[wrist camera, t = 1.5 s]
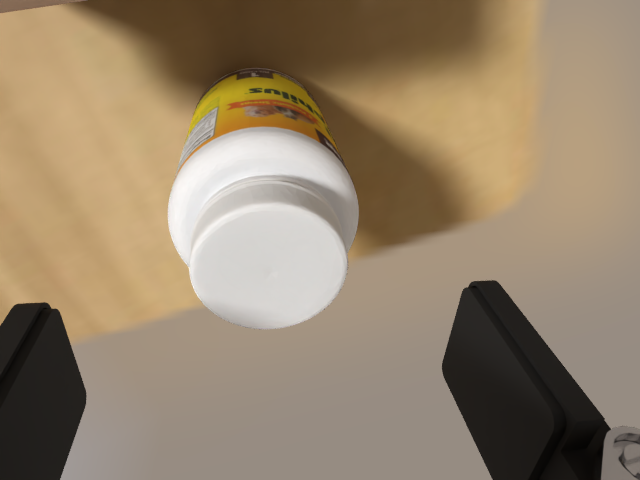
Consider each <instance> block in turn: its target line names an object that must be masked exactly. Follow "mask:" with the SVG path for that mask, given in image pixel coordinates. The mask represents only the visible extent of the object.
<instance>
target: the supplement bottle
mask: <svg viewBox="0 0 640 480" xmlns="http://www.w3.org/2000/svg"><path fill="white" fill-rule="evenodd" d="M358 220H359V206H358V199H357V194H356V191H355V188H354V184H353V181H352V179H351V177H350V175H349V172H348V170H347V168H346V166H345V164H344V162H343V159H342V157H341V155H340V153H339V151H338V149H337V146H336V144H335V142H334V139H333V137H332V135H331V133H330V130H329V128H328V126H327V124H326V122H325V119H324V117H323V115H322V113H321V111H320V109H319V107H318V105H317V103H316V101H315V100H314V98H313V97H312V95H311V94H310V93H309V92H308V91H307V90H306V89H305V88H304V87H303V85H301V84H300V83H299V82H298V81H296V80H295V79H293V78H291V77H290V76H288V75H286V74H283V73H281V72H278V71H275V70H271V69H264V68H247V69H241V70H237V71H234V72H232V73H229V74H227V75H225V76H223V77H222V78H220V79H219V80H217V81H216V82H215V83H213V84H212V85H211V86H210V87H209V88H208V89H207V90H206V92H205V93H204V94H203V96H202V97H201V99H200V101H199V102H198V104H197V107H196V109H195V111H194V114H193V118H192V121H191V124H190V128H189V131H188V135H187V138H186V141H185V145H184V148H183V152H182V155H181V159H180V162H179V165H178V168H177V172H176V175H175V178H174V182H173V186H172V189H171V193H170V198H169V204H168V224H169V230H170V234H171V237H172V240H173V243H174V245H175V248H176V250H177V251H178V253H179V255H180V257H181V258H182V259H183V261H184V262H185V263H186V264H187V266H188V267H189V274H190V279H191V283H192V286H193V288H194V291H195V292H196V294H197V296H198V297H199V299H200V300H201V301H202V303H203V304H204V305H205V306H206V307H207V308H208V309H209V310H210V311H212V312H213V313H214V314H216V315H217V316H219V317H220V318H222V319H224V320H226V321H228V322H231V323H233V324H236V325H239V326H243V327H247V328H254V329H276V328H283V327H288V326H292V325H296V324H298V323H301V322H304V321H306V320H308V319H309V318H312V317H314V316H315V315H317V314H318V313H320V312H321V311H322V310H324V309H325V308H326V307H327V306H328V305H329V304H330V303H331V302H332V301H333V300H334V299H335V297H336V296H337V294H338V293H339V292H340V290H341V288H342V286H343V284H344V281H345V279H346V274H347V270H348V255H347V253H348V251H349V250H350V248H351V246H352V243H353V241H354V238H355V235H356V232H357V227H358Z"/></svg>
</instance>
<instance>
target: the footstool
mask: <svg viewBox="0 0 640 480" xmlns="http://www.w3.org/2000/svg"><path fill="white" fill-rule="evenodd" d="M79 1H86V0H0V13H5V12H11V11H18V10H25V9H32V8H38V7H45V6H52V5H59V4H66V3H72V2H79Z"/></svg>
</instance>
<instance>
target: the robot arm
mask: <svg viewBox="0 0 640 480" xmlns="http://www.w3.org/2000/svg"><path fill="white" fill-rule="evenodd" d="M442 371H443V376H444V378H445V380H446V383H447V384H448V387H449V389H450V391H451V393H452V395H453V397H454V399H455V401H456V404H457V406H458V408H459V410H460V412H461V414H462V416H463V418H464V420H465V422H466V425H467V427H468V429H469V431H470V433H471V435H472V437H473V439H474V441H475V443H476V446H477V448H478V450H479V452H480V454H481V456H482V458H483V460H484V462H485V464H486V467H487V469H488V471H489V473H490V475H491V477H492V479H493V480H640V429H638V428H635V427H627V426H620V427H616V428H612V429H610V427H609V426H608V425H607V423H606V422H605V421H604V418H603V416H602V415H601V414H600V412H599V411H598V410H597V408H596V407H595V406H594V405H593V403H592V402H591V401H590V399H589V398H588V397H587V396H586V394H585V393H584V392H583V390H582V389H581V388H580V387H579V385H578V384H577V383H576V382H575V380H574V379H573V378H572V376H571V375H570V374H569V372H568V371H567V370H566V369H565V367H564V366H563V365H562V363H561V362H560V361H559V360H558V358H557V357H556V356H555V355H554V353H553V352H552V351H551V349H550V348H549V347H548V345H547V344H546V343H545V342H544V340H543V339H542V338H541V336H540V335H539V334H538V333H537V331H536V330H535V329H534V328H533V326H532V325H531V324H530V322H529V321H528V320H527V318H526V317H525V316H524V315H523V313H522V312H521V311H520V310H519V308H518V307H517V306H516V304H515V303H514V302H513V301H512V299H511V298H510V297H509V295H508V294H507V293H506V292H505V290H504V289H503V288H502V286H501V285H500V284H499V283H498V282H497V281H493V280H492V281H474V282H471V283H470V285H469V287H468V288H465V289H463V291H462V294H461V298H460V302H459V305H458V309H457V312H456V316H455V320H454V323H453V327H452V330H451V334H450V337H449V342H448V345H447V348H446V352H445V355H444V359H443V363H442ZM85 405H86V390H85V387H84V384H83V381H82V378H81V375H80V372H79V369H78V366H77V363H76V360H75V357H74V354H73V351H72V348H71V345H70V342H69V339H68V335H67V332H66V329H65V326H64V323H63V320H62V317H61V314H60V312H59V310H58V309H51V307H50V305H49V304H48V303H25V304H16V305H14V307H13V308H12V309H11V310H10V312H9V314H8V315H7V317H6V318H5V320H4V321H3V323H2V324H1V326H0V480H60V478H61V475H62V472H63V469H64V466H65V463H66V461H67V458H68V455H69V452H70V449H71V446H72V443H73V440H74V437H75V435H76V432H77V429H78V426H79V423H80V420H81V417H82V414H83V412H84V409H85Z"/></svg>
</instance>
